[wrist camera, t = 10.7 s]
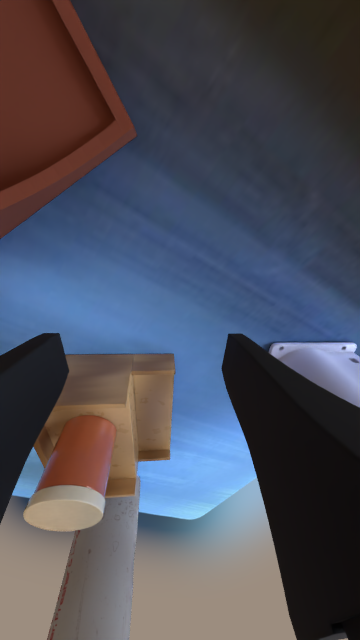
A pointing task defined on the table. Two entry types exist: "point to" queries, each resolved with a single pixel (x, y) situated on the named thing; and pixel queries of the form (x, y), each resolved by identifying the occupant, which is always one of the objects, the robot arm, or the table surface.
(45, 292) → the table surface
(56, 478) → the spice jar
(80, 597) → the thermos bottle
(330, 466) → the robot arm
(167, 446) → the spice rack
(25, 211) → the hanging shelf
